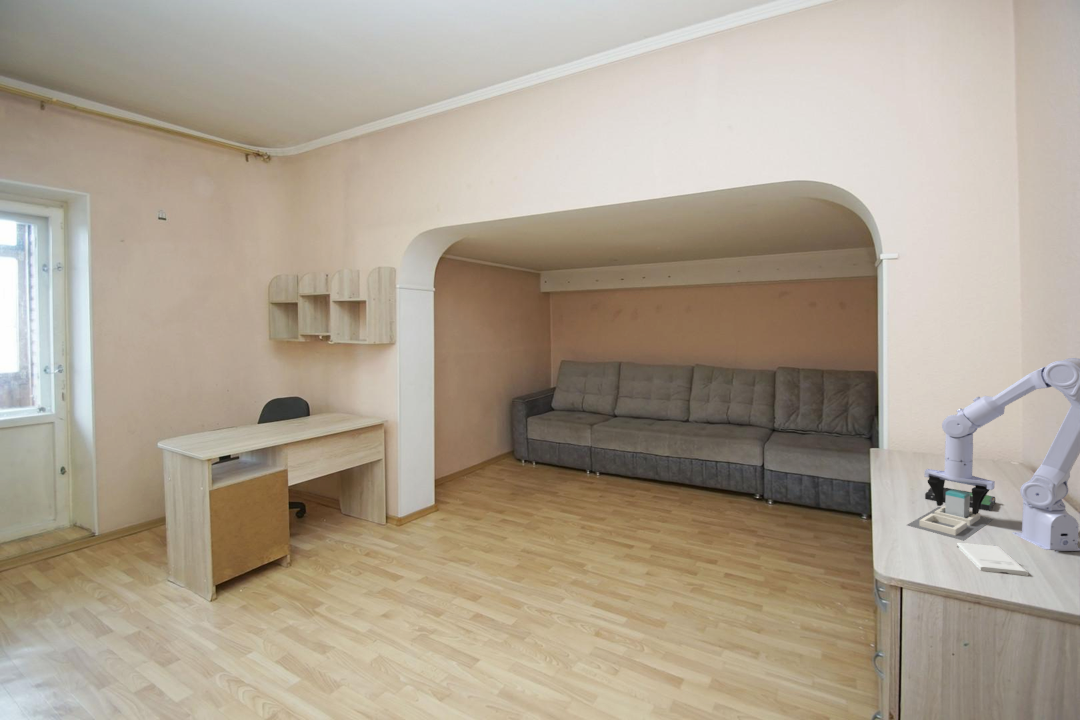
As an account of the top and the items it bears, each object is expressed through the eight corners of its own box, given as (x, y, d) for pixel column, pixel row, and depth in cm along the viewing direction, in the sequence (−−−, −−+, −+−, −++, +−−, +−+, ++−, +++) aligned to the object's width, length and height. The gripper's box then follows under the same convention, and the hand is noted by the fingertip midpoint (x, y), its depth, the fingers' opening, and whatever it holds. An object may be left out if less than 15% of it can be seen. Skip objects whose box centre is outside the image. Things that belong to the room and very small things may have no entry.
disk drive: (924, 503, 151) (991, 514, 141) (924, 493, 151) (991, 505, 140) (931, 493, 158) (995, 504, 148) (931, 485, 158) (995, 495, 147)
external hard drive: (999, 553, 119) (1028, 578, 107) (956, 548, 122) (980, 573, 110) (999, 546, 119) (1028, 570, 107) (956, 542, 122) (980, 565, 110)
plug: (963, 521, 134) (964, 495, 134) (945, 517, 137) (945, 491, 137) (969, 518, 136) (969, 492, 136) (950, 513, 140) (951, 488, 139)
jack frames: (955, 535, 126) (955, 529, 126) (919, 525, 133) (919, 520, 132) (980, 518, 136) (980, 513, 136) (945, 510, 142) (945, 505, 142)
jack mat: (963, 542, 123) (963, 540, 123) (906, 526, 133) (906, 525, 133) (993, 521, 135) (993, 519, 135) (938, 508, 145) (938, 506, 145)
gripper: (999, 462, 132) (997, 513, 133) (932, 451, 144) (931, 498, 145) (989, 467, 128) (988, 520, 129) (921, 455, 140) (920, 504, 141)
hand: (957, 509), depth 137 cm, fingers open, 7 cm apart
